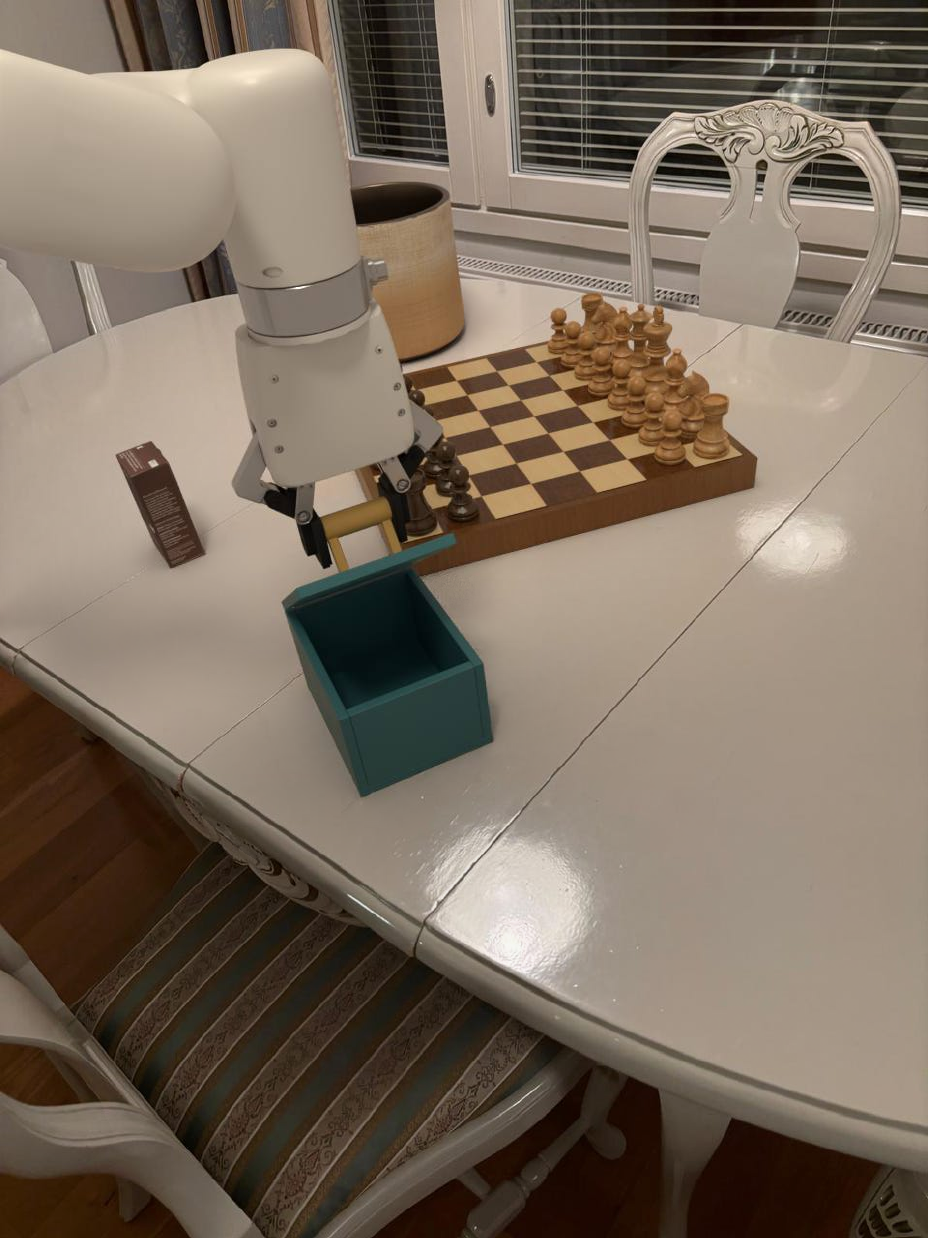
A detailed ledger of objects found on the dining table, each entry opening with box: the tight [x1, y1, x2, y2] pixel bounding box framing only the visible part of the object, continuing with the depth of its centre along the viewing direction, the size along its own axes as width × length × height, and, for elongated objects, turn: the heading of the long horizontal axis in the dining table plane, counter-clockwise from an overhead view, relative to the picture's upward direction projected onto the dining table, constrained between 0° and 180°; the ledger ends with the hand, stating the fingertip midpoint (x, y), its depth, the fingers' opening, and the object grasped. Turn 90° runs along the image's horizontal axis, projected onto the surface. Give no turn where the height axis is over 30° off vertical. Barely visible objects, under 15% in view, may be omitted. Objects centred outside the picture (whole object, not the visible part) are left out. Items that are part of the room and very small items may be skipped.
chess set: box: [354, 292, 759, 577], centre depth 103 cm, size 40×40×15 cm
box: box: [114, 440, 206, 568], centre depth 95 cm, size 6×4×12 cm
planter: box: [350, 181, 465, 363], centre depth 132 cm, size 22×22×20 cm
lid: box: [281, 496, 457, 611], centre depth 68 cm, size 15×12×5 cm
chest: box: [284, 566, 494, 798], centre depth 73 cm, size 15×12×9 cm
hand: (359, 543), depth 64 cm, fingers closed on lid, 5 cm apart
